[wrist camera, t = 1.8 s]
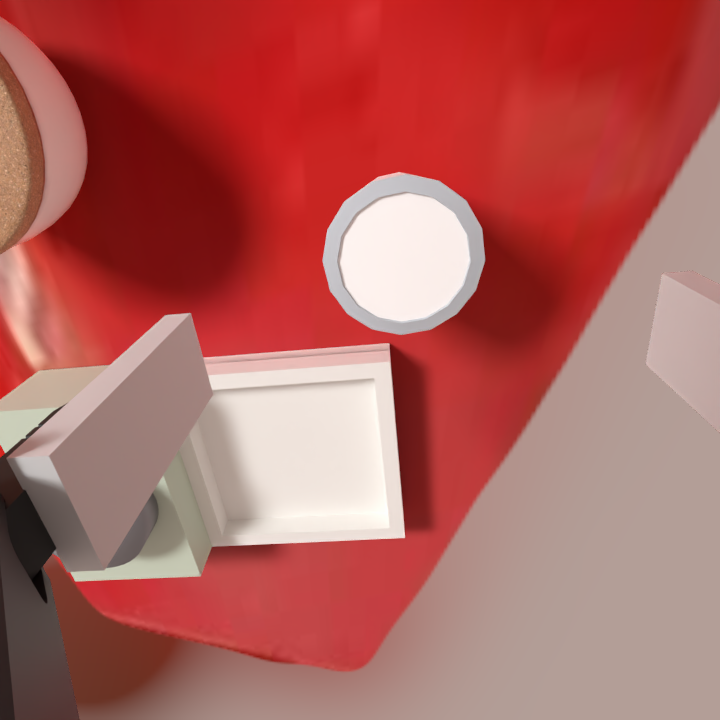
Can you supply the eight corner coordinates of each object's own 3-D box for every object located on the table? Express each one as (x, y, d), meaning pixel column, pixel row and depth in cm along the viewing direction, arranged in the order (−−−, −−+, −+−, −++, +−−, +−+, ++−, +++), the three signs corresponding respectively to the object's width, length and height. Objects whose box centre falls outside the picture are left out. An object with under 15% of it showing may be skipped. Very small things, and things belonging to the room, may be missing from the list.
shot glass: (337, 286, 28) (325, 335, 22) (333, 160, 25) (317, 175, 19) (455, 286, 28) (477, 336, 22) (466, 158, 25) (495, 173, 18)
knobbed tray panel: (39, 370, 31) (-45, 433, 25) (389, 343, 30) (391, 404, 23) (111, 526, 38) (58, 607, 31) (403, 511, 36) (408, 594, 30)
